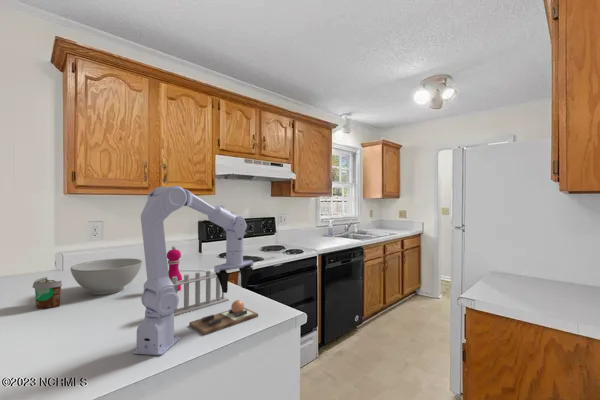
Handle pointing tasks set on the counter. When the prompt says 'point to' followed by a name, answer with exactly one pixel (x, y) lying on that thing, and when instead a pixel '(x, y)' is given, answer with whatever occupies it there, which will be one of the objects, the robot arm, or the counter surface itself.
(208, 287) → the test tube rack
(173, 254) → the pepper mill
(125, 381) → the counter surface
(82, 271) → the decorative bowl
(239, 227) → the robot arm
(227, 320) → the cradle board
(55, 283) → the food container
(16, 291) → the counter surface
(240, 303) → the terracotta ball
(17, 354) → the counter surface
